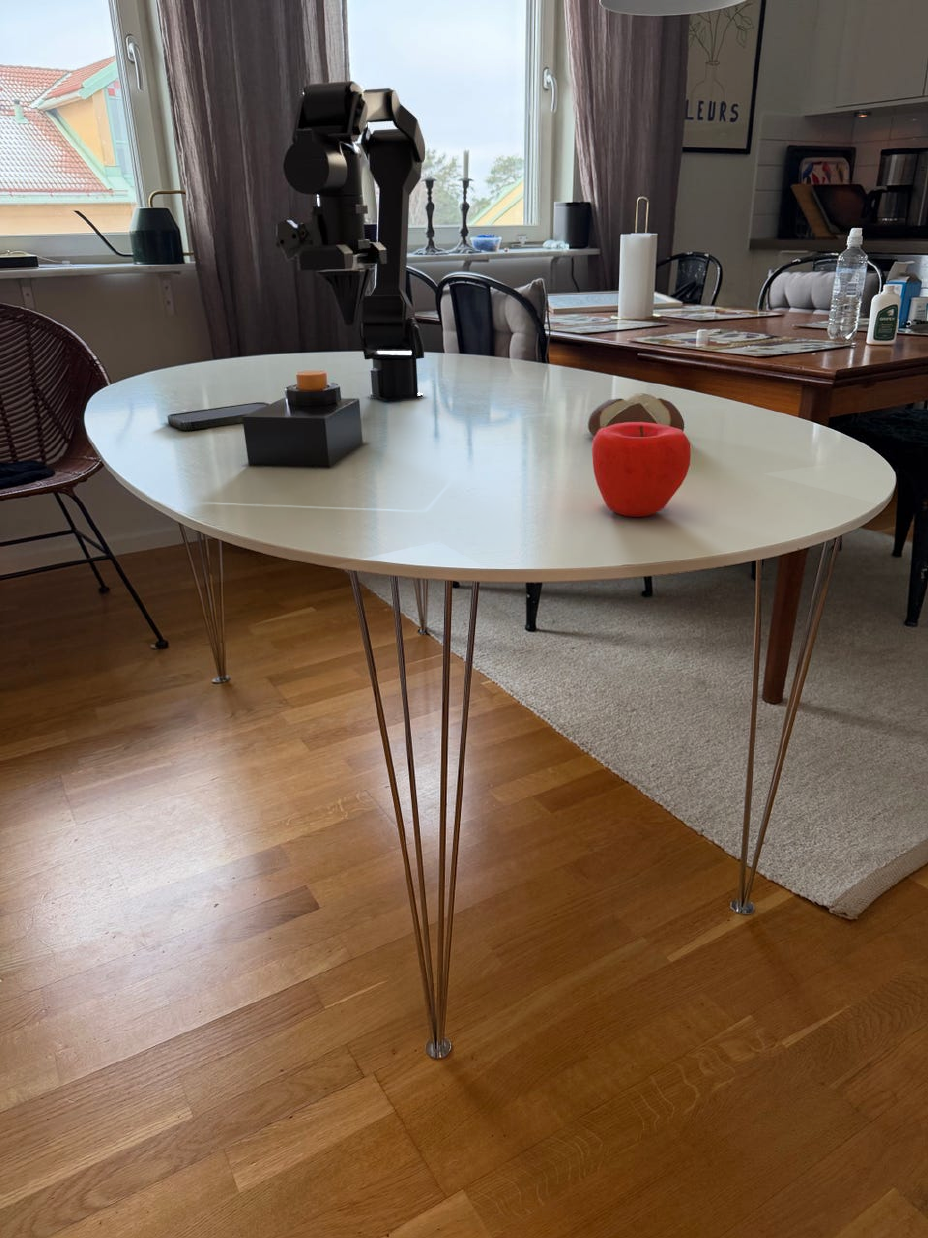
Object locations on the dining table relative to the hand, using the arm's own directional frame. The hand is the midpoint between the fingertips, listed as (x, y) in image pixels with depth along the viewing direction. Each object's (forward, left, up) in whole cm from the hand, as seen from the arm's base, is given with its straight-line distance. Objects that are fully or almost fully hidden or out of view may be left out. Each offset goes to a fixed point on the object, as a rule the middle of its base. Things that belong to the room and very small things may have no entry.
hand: (350, 324), depth 116 cm
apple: (-3, +55, -13) cm, 57 cm away
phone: (+15, -13, -13) cm, 24 cm away
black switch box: (+13, +14, -13) cm, 24 cm away
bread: (-23, +32, -13) cm, 42 cm away
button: (+11, +12, -6) cm, 17 cm away
